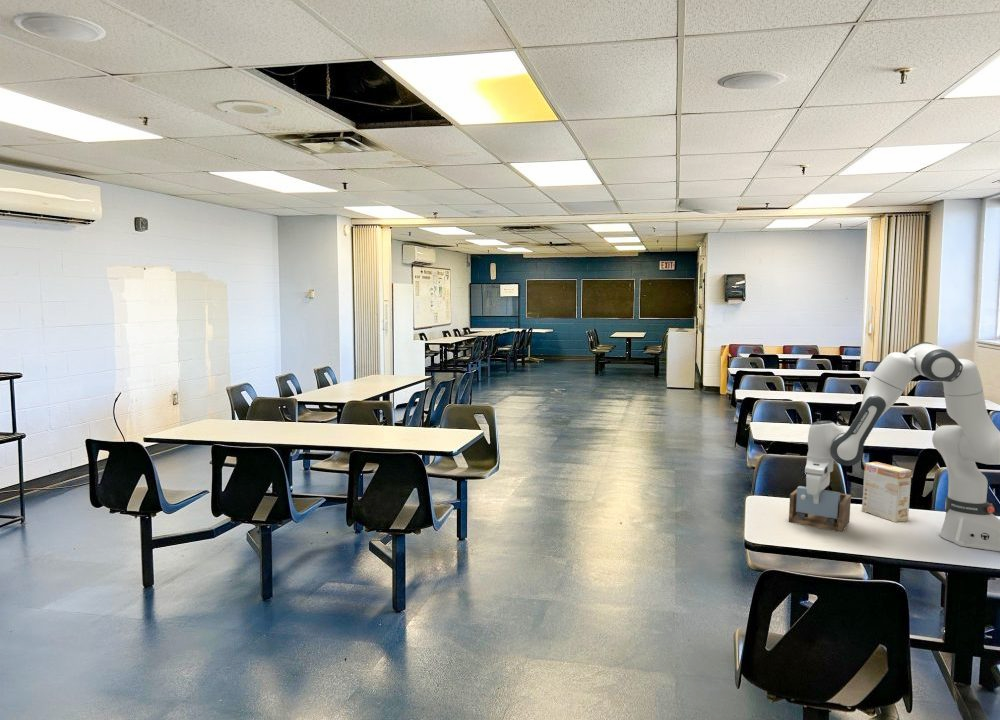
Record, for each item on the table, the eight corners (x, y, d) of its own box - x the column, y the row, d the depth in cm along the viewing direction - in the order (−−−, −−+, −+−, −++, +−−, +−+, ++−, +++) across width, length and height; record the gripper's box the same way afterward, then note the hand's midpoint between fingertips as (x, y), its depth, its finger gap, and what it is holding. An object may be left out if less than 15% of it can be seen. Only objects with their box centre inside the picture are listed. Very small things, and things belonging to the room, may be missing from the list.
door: (839, 516, 247) (840, 492, 246) (836, 519, 244) (837, 495, 243) (798, 509, 256) (799, 485, 255) (795, 512, 252) (796, 488, 251)
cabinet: (849, 522, 254) (850, 495, 253) (841, 532, 243) (843, 503, 242) (798, 513, 265) (799, 486, 264) (788, 521, 254) (790, 494, 253)
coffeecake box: (909, 520, 257) (912, 470, 256) (895, 522, 255) (898, 471, 253) (874, 509, 271) (877, 461, 269) (861, 511, 268) (864, 462, 267)
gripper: (817, 458, 259) (815, 494, 260) (803, 468, 243) (801, 506, 244) (835, 461, 255) (833, 497, 256) (822, 471, 239) (820, 510, 240)
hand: (817, 501), depth 250 cm, fingers closed on door, 3 cm apart
